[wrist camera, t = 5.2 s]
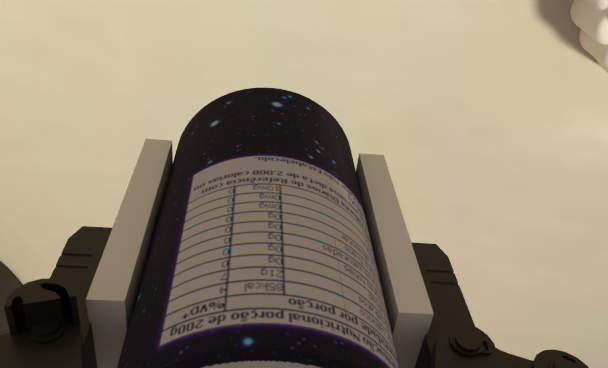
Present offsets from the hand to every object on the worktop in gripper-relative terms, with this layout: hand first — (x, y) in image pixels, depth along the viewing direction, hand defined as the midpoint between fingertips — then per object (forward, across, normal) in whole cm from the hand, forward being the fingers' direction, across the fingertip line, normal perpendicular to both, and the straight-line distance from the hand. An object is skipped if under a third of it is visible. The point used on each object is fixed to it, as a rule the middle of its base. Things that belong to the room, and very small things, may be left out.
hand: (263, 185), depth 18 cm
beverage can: (+2, 0, 0) cm, 2 cm away
